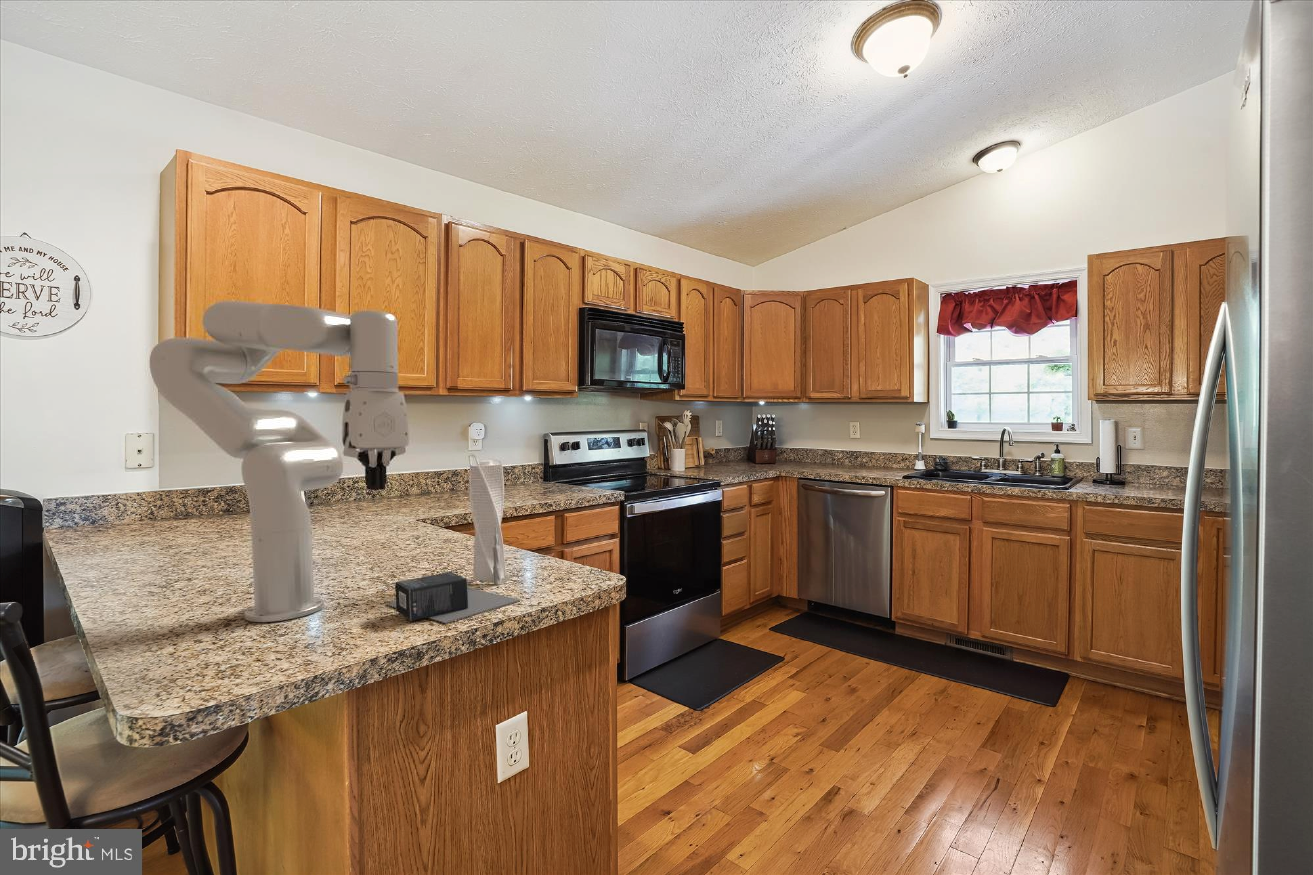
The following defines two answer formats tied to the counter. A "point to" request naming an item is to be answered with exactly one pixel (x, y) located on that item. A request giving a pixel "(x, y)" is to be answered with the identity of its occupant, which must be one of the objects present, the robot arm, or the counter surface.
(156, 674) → the counter surface
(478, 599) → the mat
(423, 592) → the box
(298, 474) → the robot arm
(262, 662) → the counter surface
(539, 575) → the counter surface
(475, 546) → the skyscraper
